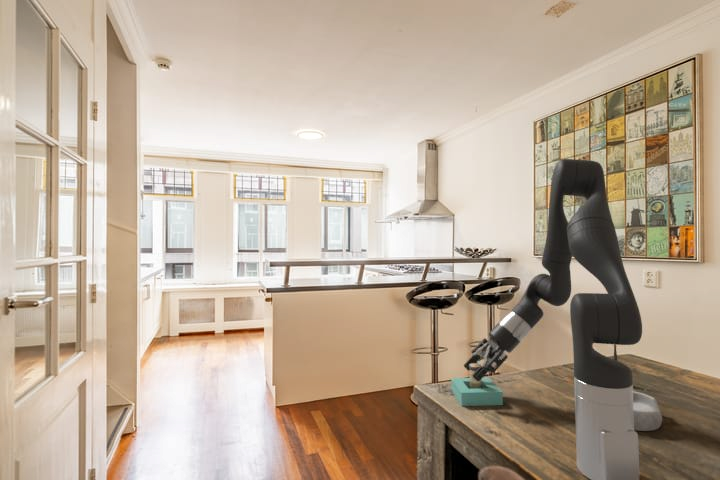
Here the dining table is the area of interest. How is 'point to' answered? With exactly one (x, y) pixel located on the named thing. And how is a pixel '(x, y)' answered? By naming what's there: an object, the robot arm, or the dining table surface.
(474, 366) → the tan banded cylinder
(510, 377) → the dining table surface
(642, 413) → the dish
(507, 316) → the robot arm
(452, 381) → the teal square frame
